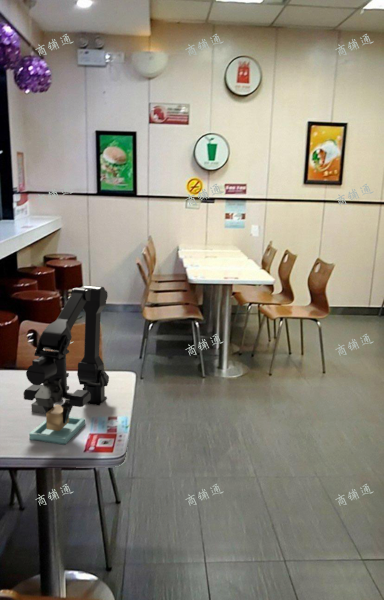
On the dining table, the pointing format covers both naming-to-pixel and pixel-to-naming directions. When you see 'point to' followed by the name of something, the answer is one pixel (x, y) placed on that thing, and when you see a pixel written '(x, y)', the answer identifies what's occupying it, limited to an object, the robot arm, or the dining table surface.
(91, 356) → the robot arm
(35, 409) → the pair of grey blocks
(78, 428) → the teal tray
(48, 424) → the wooden block
